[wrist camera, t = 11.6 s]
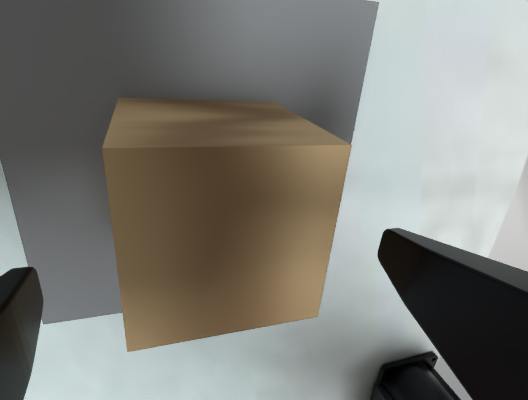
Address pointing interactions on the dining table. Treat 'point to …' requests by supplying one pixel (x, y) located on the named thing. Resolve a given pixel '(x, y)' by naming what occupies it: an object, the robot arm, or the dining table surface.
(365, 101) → the dining table surface
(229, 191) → the oak block
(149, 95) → the slate pedestal
